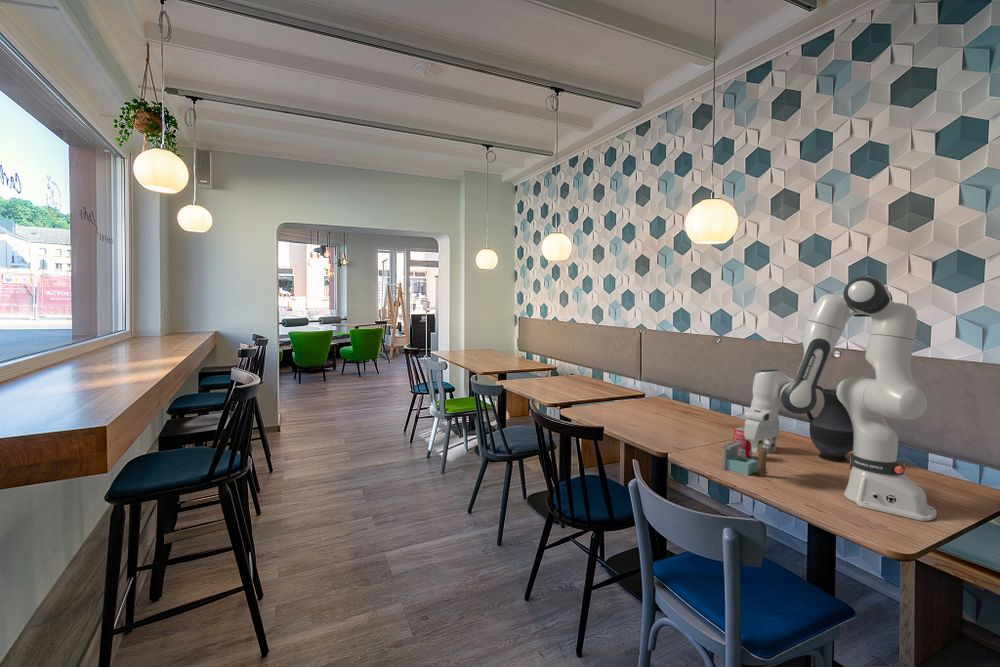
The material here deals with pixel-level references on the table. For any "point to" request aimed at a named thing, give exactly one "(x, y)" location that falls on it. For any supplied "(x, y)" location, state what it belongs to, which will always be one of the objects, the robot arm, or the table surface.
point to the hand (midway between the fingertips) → (760, 450)
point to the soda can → (746, 445)
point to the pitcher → (832, 428)
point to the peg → (762, 462)
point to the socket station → (737, 460)
